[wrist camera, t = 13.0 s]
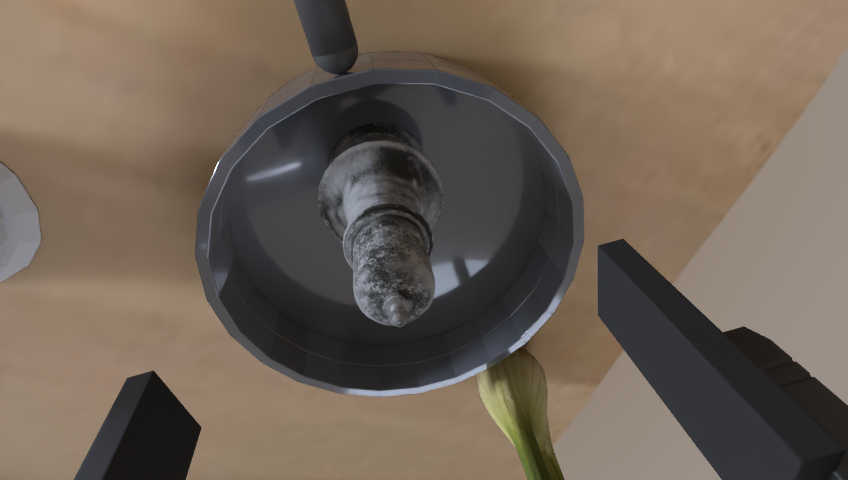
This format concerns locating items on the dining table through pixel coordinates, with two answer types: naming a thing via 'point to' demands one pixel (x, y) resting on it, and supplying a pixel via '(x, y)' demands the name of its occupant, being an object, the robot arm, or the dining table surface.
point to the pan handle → (329, 34)
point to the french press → (16, 225)
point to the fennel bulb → (522, 411)
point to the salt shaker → (384, 219)
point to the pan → (452, 235)
